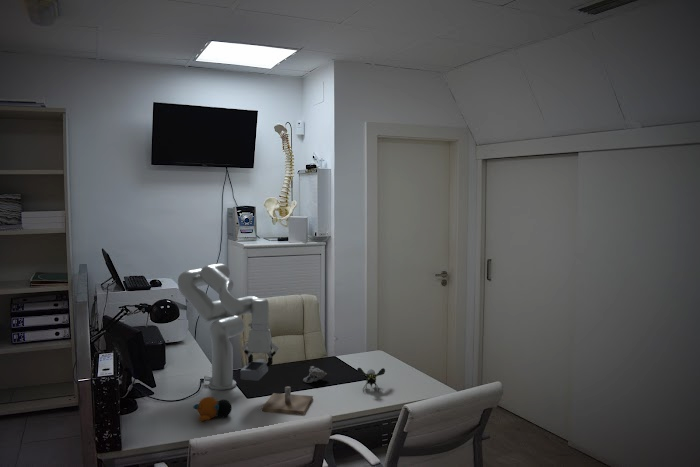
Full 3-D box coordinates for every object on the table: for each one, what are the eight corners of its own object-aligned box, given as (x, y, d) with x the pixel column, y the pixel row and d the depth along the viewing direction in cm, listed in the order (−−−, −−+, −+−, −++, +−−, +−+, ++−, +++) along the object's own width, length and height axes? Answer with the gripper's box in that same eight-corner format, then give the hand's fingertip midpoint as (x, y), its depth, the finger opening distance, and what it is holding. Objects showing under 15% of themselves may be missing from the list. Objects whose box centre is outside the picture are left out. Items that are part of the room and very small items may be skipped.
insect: (356, 396, 256) (356, 374, 255) (356, 383, 272) (357, 362, 271) (385, 396, 255) (386, 375, 255) (384, 384, 272) (385, 363, 271)
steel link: (258, 380, 238) (258, 371, 238) (240, 379, 239) (240, 370, 239) (270, 368, 254) (270, 359, 254) (252, 367, 255) (253, 358, 255)
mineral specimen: (310, 389, 277) (317, 390, 268) (298, 379, 276) (304, 379, 267) (322, 373, 281) (329, 373, 272) (310, 362, 280) (316, 362, 271)
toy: (194, 397, 234) (230, 399, 239) (191, 422, 231) (228, 423, 235) (196, 394, 224) (234, 396, 228) (193, 421, 220) (232, 422, 225)
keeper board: (261, 411, 237) (261, 392, 236) (273, 396, 254) (273, 378, 253) (303, 414, 234) (304, 395, 234) (312, 399, 251) (312, 381, 250)
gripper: (238, 327, 249) (238, 366, 250) (276, 329, 246) (276, 369, 248) (244, 323, 256) (244, 361, 258) (281, 325, 254) (281, 363, 255)
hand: (260, 365), depth 253 cm, fingers closed on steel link, 8 cm apart
